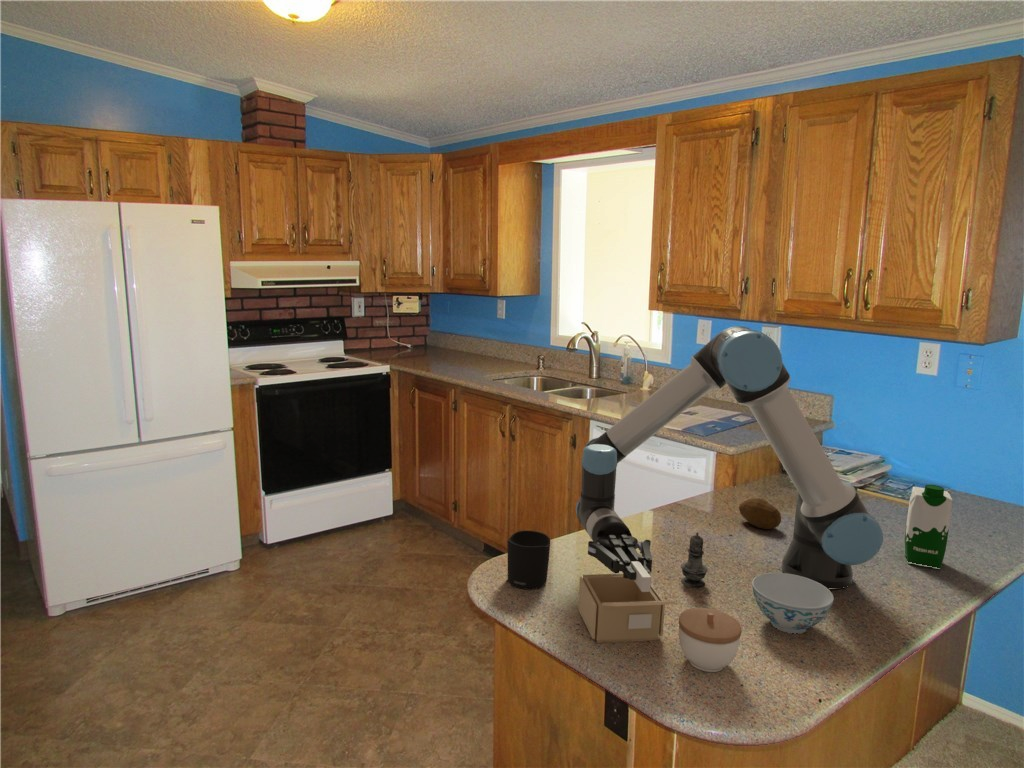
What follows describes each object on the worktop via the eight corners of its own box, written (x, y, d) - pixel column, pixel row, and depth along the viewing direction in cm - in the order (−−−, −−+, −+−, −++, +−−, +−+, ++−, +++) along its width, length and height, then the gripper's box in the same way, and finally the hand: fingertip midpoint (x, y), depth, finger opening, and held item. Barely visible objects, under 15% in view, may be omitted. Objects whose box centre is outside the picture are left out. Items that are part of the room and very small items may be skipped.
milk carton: (903, 564, 167) (914, 486, 164) (900, 551, 175) (910, 477, 172) (945, 572, 164) (957, 492, 160) (940, 558, 172) (951, 482, 169)
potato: (773, 536, 183) (776, 508, 182) (730, 523, 192) (732, 496, 190) (786, 528, 189) (788, 502, 187) (743, 516, 197) (746, 490, 196)
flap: (658, 600, 127) (675, 601, 119) (659, 603, 127) (675, 604, 119) (601, 602, 126) (614, 603, 118) (602, 605, 125) (614, 606, 117)
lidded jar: (671, 671, 119) (675, 621, 117) (679, 641, 129) (683, 594, 127) (736, 686, 115) (741, 635, 113) (739, 654, 125) (743, 606, 123)
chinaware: (741, 604, 144) (744, 569, 143) (814, 610, 143) (818, 575, 141) (759, 641, 129) (763, 604, 128) (841, 648, 128) (845, 610, 127)
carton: (640, 607, 141) (643, 573, 140) (663, 641, 128) (666, 604, 127) (576, 609, 139) (578, 574, 138) (593, 644, 126) (595, 606, 125)
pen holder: (498, 576, 153) (500, 534, 151) (534, 568, 157) (536, 527, 156) (519, 594, 145) (521, 550, 143) (556, 585, 149) (558, 542, 148)
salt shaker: (692, 590, 149) (696, 538, 147) (674, 579, 155) (678, 529, 153) (712, 585, 152) (716, 534, 150) (693, 575, 157) (698, 525, 155)
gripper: (638, 549, 142) (680, 603, 119) (577, 551, 141) (608, 606, 117) (640, 514, 141) (683, 562, 118) (578, 516, 139) (611, 565, 116)
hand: (646, 584), depth 118 cm, fingers closed
